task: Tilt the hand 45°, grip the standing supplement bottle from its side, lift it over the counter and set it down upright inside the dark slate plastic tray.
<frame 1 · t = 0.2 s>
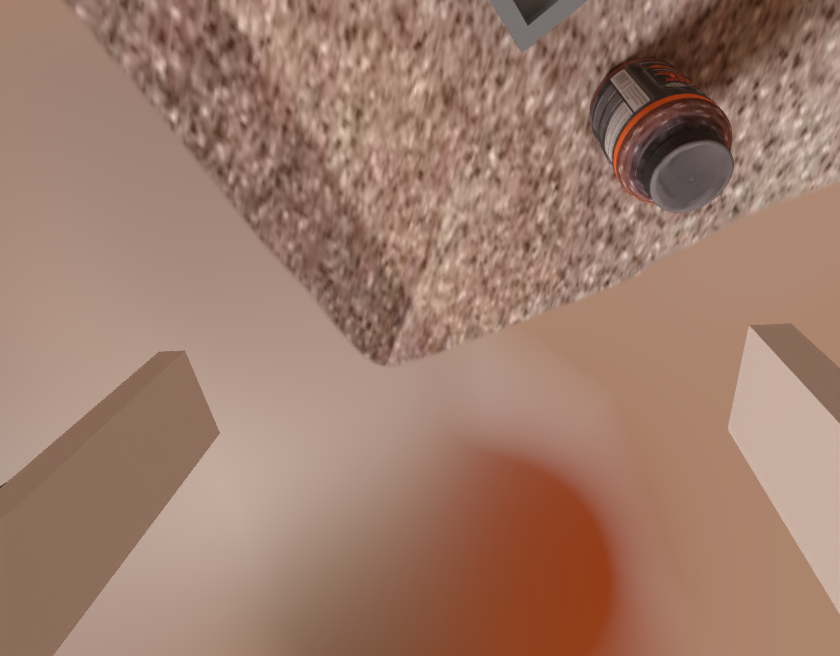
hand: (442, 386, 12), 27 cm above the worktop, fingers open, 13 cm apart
supplement bottle: (631, 101, 33), on the worktop
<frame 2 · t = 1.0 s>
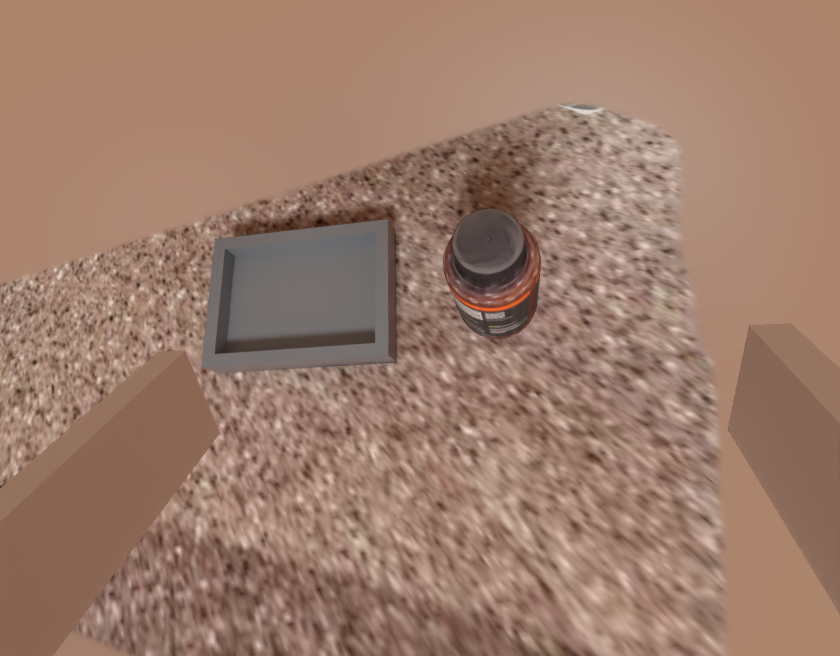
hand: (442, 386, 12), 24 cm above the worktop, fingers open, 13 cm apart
tray: (308, 302, 40), on the worktop
supplement bottle: (497, 304, 37), on the worktop
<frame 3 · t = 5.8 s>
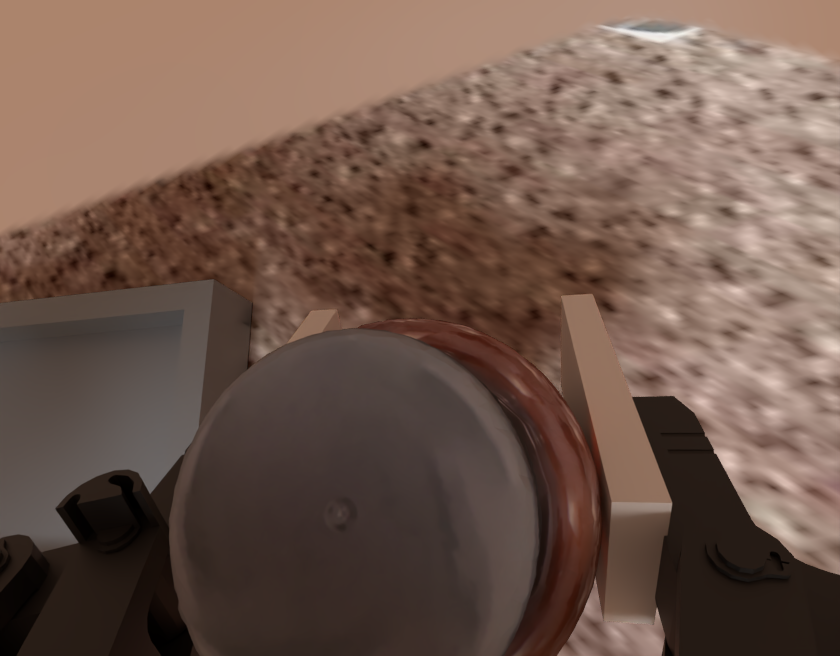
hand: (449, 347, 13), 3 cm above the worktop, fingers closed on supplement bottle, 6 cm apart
tray: (63, 455, 19), on the worktop
supplement bottle: (466, 483, 16), on the worktop, touching gripper
when the fingers open (5 cm above the worktop, at t = 10.5 s): supplement bottle stays where it is, resting on tray.
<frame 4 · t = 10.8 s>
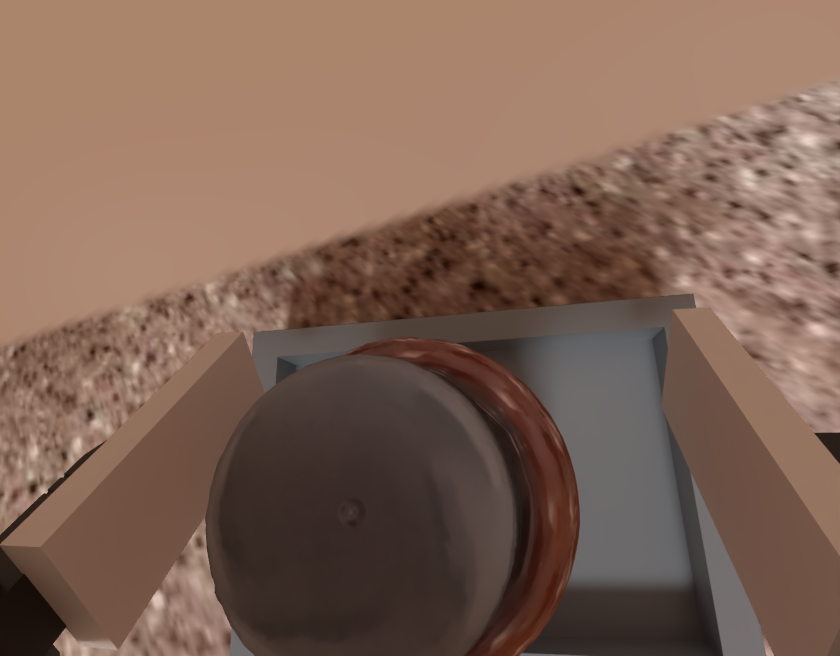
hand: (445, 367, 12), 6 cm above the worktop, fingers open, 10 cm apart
tray: (471, 481, 17), on the worktop
supplement bottle: (464, 484, 17), point 1 cm above the worktop, touching tray
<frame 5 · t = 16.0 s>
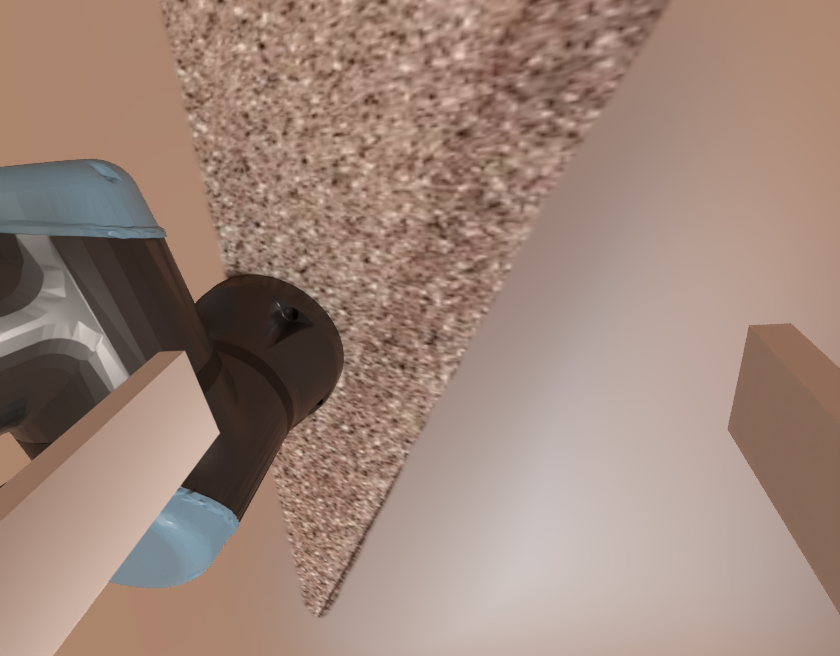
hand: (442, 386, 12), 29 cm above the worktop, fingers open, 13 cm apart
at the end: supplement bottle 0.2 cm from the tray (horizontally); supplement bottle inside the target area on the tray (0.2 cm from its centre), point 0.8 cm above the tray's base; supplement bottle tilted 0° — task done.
